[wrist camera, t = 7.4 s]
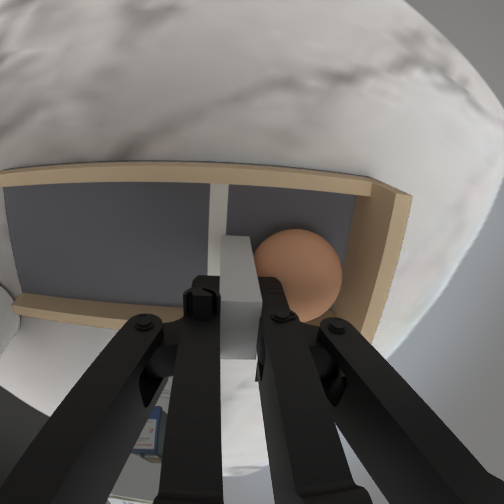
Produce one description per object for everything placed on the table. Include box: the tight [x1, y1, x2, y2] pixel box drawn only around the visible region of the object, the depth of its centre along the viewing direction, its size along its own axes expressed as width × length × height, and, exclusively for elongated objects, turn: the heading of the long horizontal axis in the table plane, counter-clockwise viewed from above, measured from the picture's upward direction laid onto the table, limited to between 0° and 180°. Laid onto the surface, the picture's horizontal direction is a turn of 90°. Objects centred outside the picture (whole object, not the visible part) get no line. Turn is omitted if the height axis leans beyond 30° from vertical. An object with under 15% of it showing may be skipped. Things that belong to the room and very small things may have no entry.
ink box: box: [108, 376, 173, 504], centre depth 18 cm, size 9×5×12 cm, turn 173°
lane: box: [0, 160, 413, 344], centre depth 16 cm, size 24×10×5 cm, turn 85°
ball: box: [253, 229, 342, 322], centre depth 16 cm, size 5×5×5 cm
